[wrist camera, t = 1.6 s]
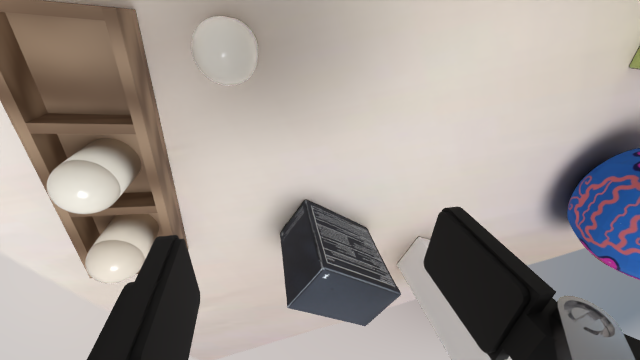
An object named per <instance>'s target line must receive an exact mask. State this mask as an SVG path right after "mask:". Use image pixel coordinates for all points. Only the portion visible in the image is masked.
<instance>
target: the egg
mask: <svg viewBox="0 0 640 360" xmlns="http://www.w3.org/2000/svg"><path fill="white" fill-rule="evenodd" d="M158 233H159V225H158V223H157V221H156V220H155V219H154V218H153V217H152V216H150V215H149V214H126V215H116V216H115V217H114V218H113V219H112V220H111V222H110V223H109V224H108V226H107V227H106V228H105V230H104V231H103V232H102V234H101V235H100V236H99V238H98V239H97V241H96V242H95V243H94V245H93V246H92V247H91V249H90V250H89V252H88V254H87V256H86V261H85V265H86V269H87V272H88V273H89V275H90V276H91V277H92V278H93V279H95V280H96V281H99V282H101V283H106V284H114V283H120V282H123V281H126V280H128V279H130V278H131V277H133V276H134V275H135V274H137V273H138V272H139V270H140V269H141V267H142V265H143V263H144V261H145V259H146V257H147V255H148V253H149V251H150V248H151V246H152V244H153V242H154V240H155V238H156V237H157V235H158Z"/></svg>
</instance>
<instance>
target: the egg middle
mask: <svg viewBox="0 0 640 360" xmlns="http://www.w3.org/2000/svg"><path fill="white" fill-rule="evenodd" d="M140 170H141V160H140V157H139V156H138V154H137V153H136V151H135V150H134V149H133V148H132V147H130V146H129V145H128V144H126V143H124V142H122V141H119V140H116V139H111V138H101V139H97V140H94V141H92V142H91V143H89V144H88V145H86V146H85V147H84V148H82V149H81V150H79V151H78V152H76V153H75V154H74V155H72V156H71V157H69V158H68V159H67V160H65V161H64V162H62V163H61V164H59V165H58V166H57V167H56V168H55V169H54V170H53V171H52V172H51V174H50V175H49V178H48V180H47V192H48V195H49V197H50V198H51V200H52V201H53V202H54V203H55V204H56V205H57V206H58V207H60V208H62V209H64V210H66V211H68V212H72V213H77V214H92V213H97V212H100V211H103V210H105V209H107V208H109V207H110V206H112V205H113V204H114V203H115V202H116V201H117V200H118V198H119V197H120V196H121V195H122V193H123V192H124V191H125V190H126V188H127V187H128V186H129V185H130V184H131V182H132V181H133V180H134V179H135V177H136V176H137V175H138V174H139V172H140Z"/></svg>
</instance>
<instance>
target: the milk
mask: <svg viewBox="0 0 640 360" xmlns="http://www.w3.org/2000/svg"><path fill="white" fill-rule="evenodd" d="M429 242H430V240H429V239H425V238H421V237H418V238H417V239H416V240H415V242H414V243H413V244H412V246H411V247H410V248H409V249H408V251H407V252H406V253H405V255H404V256H403V257H402V258H401V260H400V261H399V262H398V264H397V266H398V268H399V269H400V271H401V273H402V275H403V276H404V278H405V280H406V282H407V283H408V285H409V287H410V289H411V290H412V292H413V294H414V296H415V297H416V299H417V301H418V303H419V304H420V306H421V308H422V309H423V311H424V313H425V315H426V316H427V318H428V320H429V322H430V323H431V325H432V327H433V329H434V330H435V332H436V334H437V336H438V337H439V339H440V341H441V343H442V344H443V346H444V348H445V350H446V351H447V353H448V355H449V356H450V358H451V360H491V359H490V357H489V356H488V354H487V353H484V352H483V351H482V350H481V349H480V348H479V346H478V345H477V343H476V342H475V340H474V339H473V338H472V336H471V335H470V333H469V332H468V330H467V329H466V327H465V326H464V325H463V323H462V322H461V320H460V319H459V317H458V316H457V314H456V313H455V312H454V310H453V309H452V307H451V306H450V304H449V303H448V301H447V300H446V299H445V297H444V296H443V294H442V293H441V291H440V290H439V288H438V287H437V286H436V284H435V283H434V281H433V280H432V278H431V277H430V275H429V274H428V273H427V271H426V270H425V267H424V263H423V261H424V258H425V254H426V251H427V248H428V245H429ZM507 360H512V359H511V358H510V356H509V357H508V359H507Z"/></svg>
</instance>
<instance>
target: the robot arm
mask: <svg viewBox="0 0 640 360" xmlns="http://www.w3.org/2000/svg"><path fill="white" fill-rule="evenodd" d="M423 263H424V267H425V270H426V271H427V273H428V274H429V275H430V277H431V278H432V280H433V281H434V283H435V284H436V286H437V287H438V288H439V290H440V291H441V293H442V294H443V296H444V297H445V299H446V300H447V301H448V303H449V304H450V306H451V307H452V309H453V310H454V312H455V313H456V314H457V316H458V317H459V319H460V320H461V322H462V323H463V325H464V326H465V327H466V329H467V330H468V332H469V333H470V335H471V336H472V338H473V339H474V340H475V342H476V343H477V345H478V346H479V348H480V349H481V350H482V351H483V352H484V353H487V354H488V356H489V357H490V359H491V360H507V359H508V357H509V356H510V358H511V359H512V360H640V340H637V339H635V338H632V337H630V336H627V335H625V334H623V332H622V330H621V328H620V327H619V325H618V324H617V322H616V321H615V320H614V319H613V318H612V317H611V316H610V315H608V314H607V313H606V312H605V311H603V310H602V309H601V308H599V307H597V306H596V305H594V304H592V303H590V302H588V301H586V300H583V299H581V298H577V297H573V296H564V297H560V298H559V300H558V301H557V302H556V301H555V300H554V299H553V298H552V297H553V296H554V294H555V293H556V291H554V290H553V289H552V288H551V287H550V286H549V285H548V284H546V283H545V282H544V281H543V280H542V279H541V278H540V277H539V276H538V275H536V274H535V273H534V272H533V271H532V270H531V269H530V268H529V267H527V266H526V265H525V264H524V263H523V262H522V261H521V260H520V259H518V258H517V257H516V256H515V255H514V254H513V253H512V252H511V251H509V250H508V249H507V248H506V247H505V246H504V245H503V244H502V243H500V242H499V241H498V240H497V239H496V238H495V237H494V236H493V235H491V234H490V233H489V232H488V231H487V230H486V229H485V228H484V227H483V226H481V225H480V224H479V223H478V222H477V221H476V220H475V219H474V218H472V217H471V216H470V215H469V214H468V213H467V212H466V211H465V210H463V209H462V208H461V207H450V208H444V209H443V210H442V212H440V213H439V215H438V218H437V221H436V224H435V227H434V230H433V233H432V236H431V239H430V242H429V245H428V248H427V251H426V254H425V258H424V261H423ZM199 304H200V291H199V288H198V284H197V281H196V277H195V274H194V270H193V266H192V263H191V259H190V256H189V252H188V249H187V245H186V242H185V240H184V239H179V237H178V236H177V235H169V236H159V237H156V238H155V240H154V242H153V244H152V246H151V248H150V251H149V253H148V255H147V257H146V259H145V261H144V263H143V265H142V267H141V269H140V272H139V274H138V276H137V278H136V280H135V282H130V283H128V284H127V285H125V287H124V288H123V290H122V292H121V293H120V295H119V297H118V299H117V301H116V303H115V305H114V307H113V309H112V311H111V313H110V315H109V317H108V319H107V321H106V323H105V325H104V327H103V329H102V331H101V333H100V335H99V337H98V339H97V341H96V343H95V345H94V347H93V349H92V351H91V353H90V355H89V357H88V359H87V360H188V358H189V353H190V348H191V343H192V338H193V334H194V329H195V324H196V319H197V314H198V309H199Z"/></svg>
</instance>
